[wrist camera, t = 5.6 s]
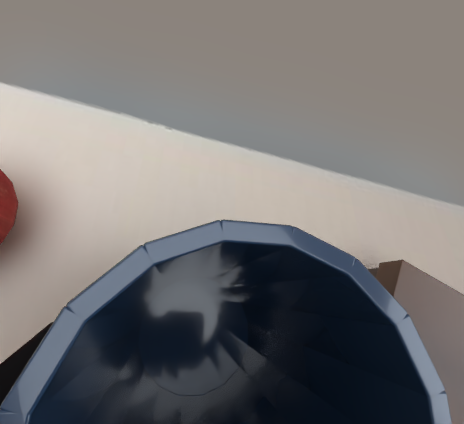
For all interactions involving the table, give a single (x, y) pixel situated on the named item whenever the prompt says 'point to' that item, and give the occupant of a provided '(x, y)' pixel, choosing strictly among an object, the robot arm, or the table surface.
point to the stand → (432, 323)
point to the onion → (7, 206)
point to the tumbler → (231, 340)
